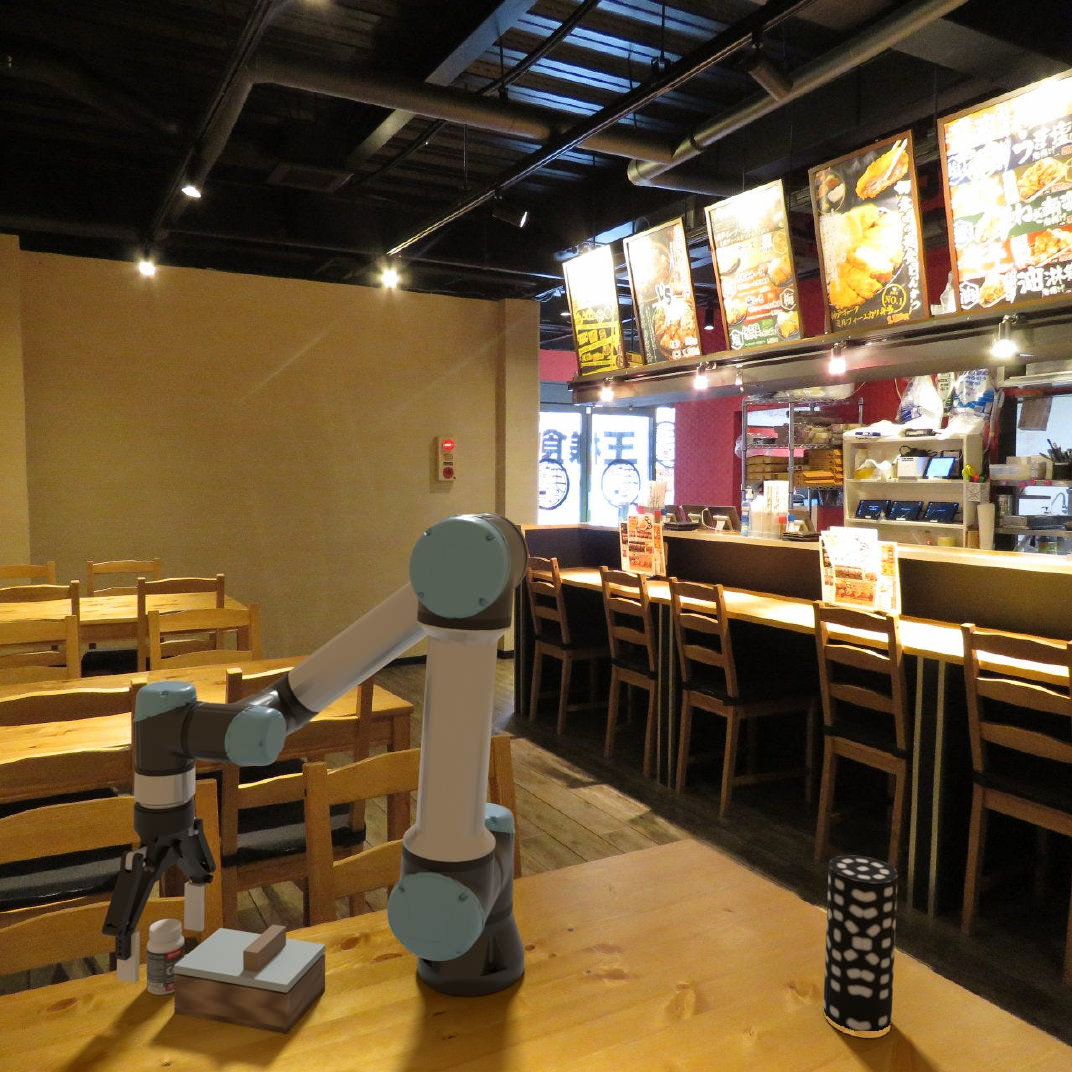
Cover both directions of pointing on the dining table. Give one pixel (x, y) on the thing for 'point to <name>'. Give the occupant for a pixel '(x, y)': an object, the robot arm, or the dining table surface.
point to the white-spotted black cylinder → (860, 942)
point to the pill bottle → (163, 955)
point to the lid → (252, 958)
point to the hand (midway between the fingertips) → (162, 953)
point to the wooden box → (249, 1000)
